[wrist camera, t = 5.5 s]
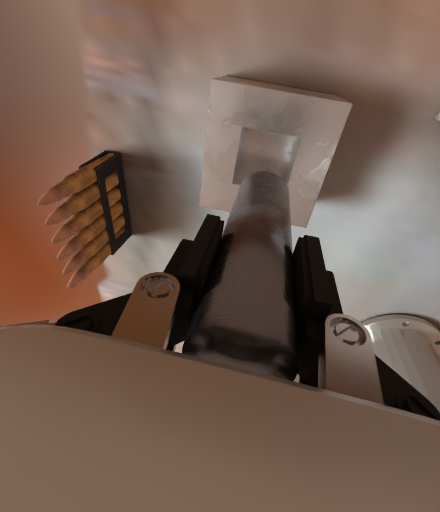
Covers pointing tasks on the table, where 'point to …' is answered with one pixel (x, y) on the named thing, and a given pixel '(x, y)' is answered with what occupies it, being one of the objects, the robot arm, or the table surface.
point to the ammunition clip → (90, 214)
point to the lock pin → (251, 286)
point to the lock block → (269, 140)
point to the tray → (438, 116)
